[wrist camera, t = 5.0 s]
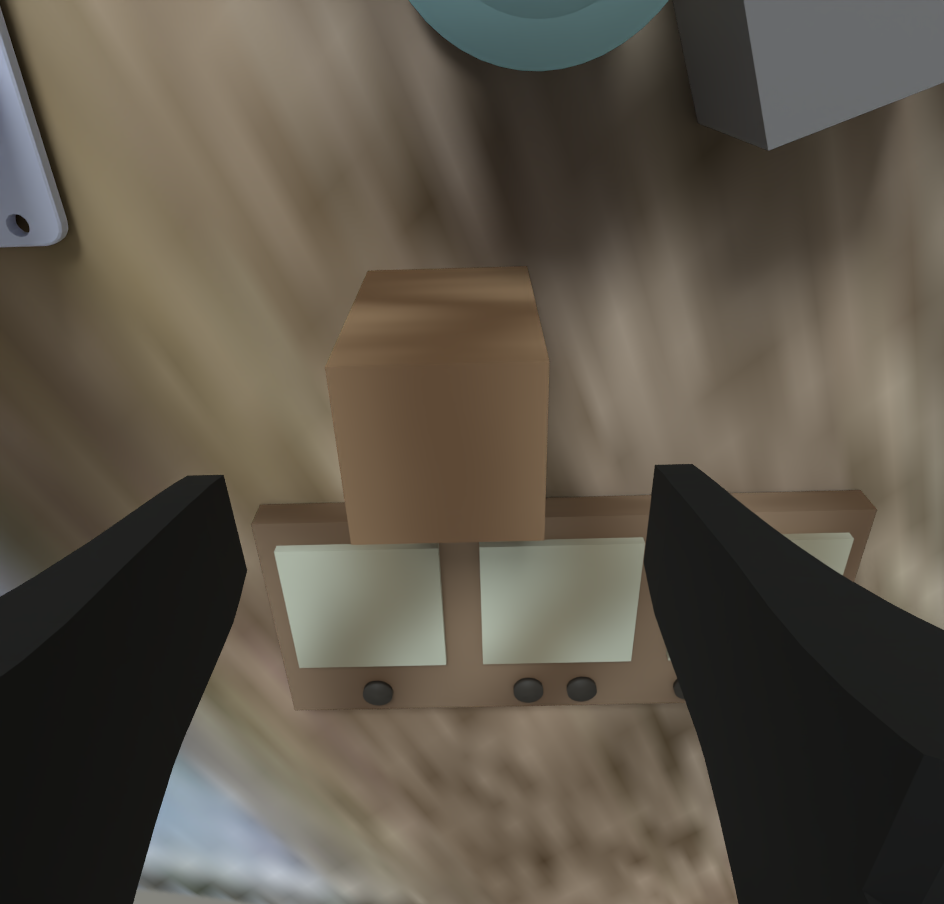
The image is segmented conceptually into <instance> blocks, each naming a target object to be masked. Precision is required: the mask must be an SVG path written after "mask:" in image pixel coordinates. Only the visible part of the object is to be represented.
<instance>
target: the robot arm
mask: <svg viewBox="0 0 944 904" xmlns="http://www.w3.org/2000/svg"><path fill="white" fill-rule="evenodd" d="M16 214H17V215H21V216H22V217H23V218H25V219H26V221H27V222H28V224H29V229H30V231H29V233H28V232H25V231H23V230H22V229H21V228H19V226H18V225H17V223H16V217H15V216H16ZM67 232H68V222H67V218H66V215H65V212H64V208H63V205H62V202H61V199H60V196H59V193H58V189H57V186H56V183H55V180H54V177H53V173H52V170H51V167H50V164H49V161H48V157H47V154H46V151H45V148H44V145H43V141H42V138H41V135H40V132H39V129H38V126H37V122H36V119H35V116H34V113H33V110H32V106H31V103H30V100H29V97H28V94H27V90H26V87H25V84H24V81H23V78H22V74H21V71H20V68H19V65H18V62H17V59H16V55H15V52H14V49H13V46H12V43H11V39H10V36H9V33H8V30H7V27H6V23H5V20H4V17H3V14H2V11H1V7H0V247H25V246H48V245H52V244H55V243H58V242H60V241H61V240H62V239H63V238H65V237H66V235H67ZM644 567H645V572H646V577H647V582H648V587H649V592H650V597H651V601H652V605H653V610H654V614H655V617H656V620H657V623H658V626H659V629H660V632H661V635H662V637H663V640H664V643H665V646H666V649H667V652H668V654H669V657H670V660H671V663H672V665H673V668H674V671H675V674H676V676H677V679H678V682H679V685H680V688H681V690H682V693H683V696H684V699H685V701H686V704H687V707H688V710H689V712H690V715H691V718H692V721H693V724H694V726H695V729H696V732H697V735H698V738H699V742H700V745H701V748H702V751H703V755H704V758H705V762H706V766H707V770H708V774H709V778H710V782H711V786H712V790H713V794H714V798H715V802H716V806H717V810H718V814H719V819H720V823H721V827H722V832H723V836H724V841H725V845H726V849H727V854H728V858H729V862H730V867H731V871H732V876H733V880H734V884H735V889H736V894H737V899H738V904H944V630H942V629H940V628H938V627H936V626H934V625H932V624H930V623H928V622H926V621H924V620H922V619H920V618H918V617H916V616H914V615H912V614H910V613H908V612H906V611H904V610H902V609H900V608H898V607H897V606H895V605H893V604H891V603H889V602H887V601H886V600H884V599H882V598H880V597H879V596H877V595H875V594H874V593H872V592H870V591H868V590H867V589H865V588H863V587H861V586H860V585H858V584H856V583H854V582H853V581H851V580H849V579H848V578H846V577H844V576H843V575H841V574H840V573H838V572H836V571H835V570H833V569H832V568H830V567H829V566H827V565H826V564H824V563H823V562H821V561H820V560H818V559H817V558H815V557H814V556H812V555H811V554H809V553H808V552H806V551H805V550H803V549H802V548H801V547H799V546H798V545H796V544H795V543H793V542H792V541H791V540H789V539H788V538H787V537H785V536H784V535H782V534H781V533H780V532H778V531H777V530H776V529H774V528H773V527H772V526H770V525H769V524H768V523H766V522H765V521H764V520H762V519H761V518H760V517H759V516H757V515H756V514H755V513H753V512H752V511H751V510H750V509H748V508H747V507H746V506H745V505H743V504H742V503H741V502H740V501H738V500H737V499H736V498H735V497H733V496H732V495H731V494H730V493H728V492H727V491H726V490H725V489H723V488H722V487H721V486H720V485H719V484H717V483H716V482H715V481H714V480H712V479H711V478H710V477H709V476H707V475H706V474H705V473H704V472H702V471H701V470H700V469H698V468H697V467H696V466H694V465H693V464H675V465H655V470H654V478H653V486H652V495H651V503H650V512H649V520H648V528H647V537H646V545H645V554H644ZM246 573H247V568H246V564H245V560H244V556H243V552H242V548H241V544H240V540H239V535H238V531H237V527H236V523H235V519H234V515H233V511H232V507H231V503H230V499H229V495H228V491H227V487H226V483H225V479H224V475H200V476H186V477H185V478H183V479H181V480H179V481H178V482H176V483H174V484H173V485H171V486H170V487H168V488H167V489H165V490H164V491H162V492H161V493H159V494H158V495H156V496H155V497H153V498H152V499H151V500H149V501H148V502H146V503H145V504H143V505H142V506H140V507H139V508H138V509H136V510H135V511H133V512H132V513H130V514H129V515H128V516H126V517H125V518H123V519H122V520H120V521H119V522H117V523H116V524H115V525H113V526H112V527H110V528H109V529H107V530H106V531H104V532H103V533H102V534H100V535H99V536H97V537H96V538H94V539H93V540H91V541H90V542H88V543H87V544H85V545H84V546H82V547H81V548H79V549H77V550H76V551H74V552H73V553H71V554H70V555H68V556H66V557H65V558H63V559H62V560H60V561H59V562H57V563H55V564H54V565H52V566H51V567H49V568H48V569H46V570H44V571H43V572H41V573H40V574H38V575H37V576H35V577H34V578H32V579H30V580H28V581H27V582H25V583H23V584H22V585H20V586H18V587H17V588H15V589H13V590H11V591H10V592H8V593H6V594H4V595H3V596H1V597H0V904H133V902H134V898H135V894H136V890H137V887H138V883H139V880H140V876H141V873H142V869H143V865H144V862H145V858H146V855H147V851H148V848H149V844H150V841H151V837H152V834H153V830H154V827H155V823H156V820H157V817H158V814H159V810H160V807H161V804H162V801H163V797H164V794H165V791H166V788H167V785H168V781H169V778H170V775H171V772H172V768H173V765H174V763H175V760H176V758H177V755H178V752H179V750H180V747H181V744H182V742H183V739H184V737H185V734H186V732H187V730H188V727H189V725H190V723H191V721H192V718H193V716H194V714H195V711H196V709H197V707H198V704H199V702H200V700H201V697H202V695H203V693H204V690H205V688H206V686H207V684H208V681H209V679H210V677H211V674H212V672H213V670H214V667H215V665H216V663H217V660H218V658H219V656H220V653H221V651H222V648H223V646H224V644H225V641H226V639H227V637H228V634H229V632H230V629H231V627H232V624H233V622H234V618H235V615H236V611H237V608H238V604H239V601H240V597H241V593H242V589H243V585H244V581H245V577H246Z"/></svg>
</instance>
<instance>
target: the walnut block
mask: <svg viewBox="0 0 944 904" xmlns="http://www.w3.org/2000/svg"><path fill="white" fill-rule="evenodd" d="M325 371H326V377H327V384H328V391H329V398H330V404H331V411H332V418H333V425H334V432H335V438H336V445H337V452H338V459H339V466H340V472H341V479H342V486H343V493H344V499H345V506H346V513H347V520H348V527H349V533H350V540H351V545H374V544H417V543H461V542H504V541H544V534H545V499H546V463H547V428H548V393H549V357H548V353H547V349H546V345H545V340H544V336H543V332H542V328H541V323H540V319H539V315H538V311H537V306H536V302H535V298H534V294H533V289H532V285H531V281H530V277H529V272H528V268H527V266H515V267H481V268H446V269H412V270H378V271H368V272H367V274H366V276H365V279H364V281H363V283H362V285H361V288H360V290H359V292H358V294H357V297H356V299H355V301H354V303H353V306H352V308H351V310H350V312H349V315H348V317H347V319H346V321H345V324H344V326H343V328H342V330H341V332H340V335H339V337H338V339H337V341H336V344H335V346H334V348H333V350H332V353H331V355H330V357H329V359H328V362H327V364H326V366H325Z"/></svg>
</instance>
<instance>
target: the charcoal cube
mask: <svg viewBox="0 0 944 904" xmlns="http://www.w3.org/2000/svg"><path fill="white" fill-rule="evenodd" d="M673 5H674V10H675V15H676V20H677V25H678V29H679V34H680V39H681V44H682V49H683V53H684V58H685V63H686V68H687V73H688V78H689V82H690V87H691V92H692V97H693V102H694V106H695V111H696V116H697V121H698V123H699V124H701V125H704V126H706V127H709V128H712V129H714V130H717V131H719V132H722V133H724V134H727V135H729V136H732V137H735V138H737V139H740V140H742V141H745V142H747V143H750V144H753V145H755V146H758V147H760V148H763V149H765V150H768V151H769V150H771V149H774V148H777V147H779V146H782V145H784V144H787V143H789V142H792V141H795V140H797V139H800V138H802V137H805V136H807V135H810V134H813V133H815V132H818V131H820V130H823V129H825V128H828V127H831V126H833V125H836V124H838V123H841V122H843V121H846V120H849V119H851V118H854V117H856V116H859V115H861V114H864V113H867V112H869V111H872V110H874V109H877V108H879V107H882V106H885V105H887V104H890V103H892V102H895V101H897V100H900V99H903V98H905V97H908V96H910V95H913V94H915V93H918V92H921V91H923V90H926V89H928V88H931V87H933V86H936V85H939V84H941V83H944V0H673Z"/></svg>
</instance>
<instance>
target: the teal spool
mask: <svg viewBox="0 0 944 904" xmlns="http://www.w3.org/2000/svg"><path fill="white" fill-rule="evenodd" d="M409 1H410V3H411V4H412V5H413V6H414V7H415V9H416V10H417V11H418V12H419V13H420V15H421V16H422V17H423V18H424V19H425V21H426V22H427V23H428V24H429V25H431V26H432V27H433V28H434V29H435V30H436V31H437V32H438V33H439V34H440V35H441V36H442V37H444V38H445V39H446V40H448V41H449V42H451V43H452V44H453V45H455V46H456V47H458V48H459V49H461V50H462V51H464V52H466V53H468V54H470V55H472V56H474V57H476V58H478V59H480V60H482V61H485V62H488V63H491V64H494V65H497V66H500V67H504V68H510V69H515V70H521V71H548V70H557V69H564V68H568V67H571V66H575V65H579V64H583V63H585V62H588V61H590V60H592V59H595V58H597V57H600V56H602V55H604V54H606V53H608V52H609V51H611V50H613V49H614V48H616V47H618V46H619V45H621V44H623V43H624V42H626V41H627V40H628V39H629V38H631V37H632V36H633V35H635V34H636V33H637V32H638V31H640V30H641V29H642V28H643V27H644V26H645V25H646V24H647V23H648V22H649V21H650V20H651V19H652V18H653V17H654V16H655V15H656V14H657V13H658V12H659V11H660V10H661V9H662V8H663V7H664V5H665V4H666V3H667V2H668V0H409Z"/></svg>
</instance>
